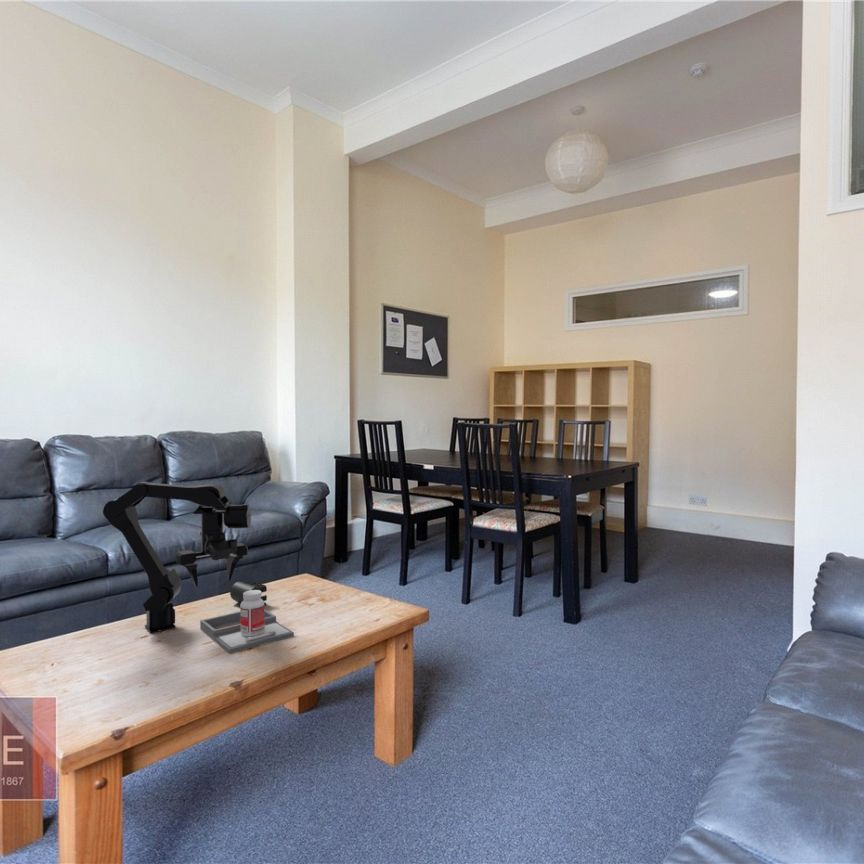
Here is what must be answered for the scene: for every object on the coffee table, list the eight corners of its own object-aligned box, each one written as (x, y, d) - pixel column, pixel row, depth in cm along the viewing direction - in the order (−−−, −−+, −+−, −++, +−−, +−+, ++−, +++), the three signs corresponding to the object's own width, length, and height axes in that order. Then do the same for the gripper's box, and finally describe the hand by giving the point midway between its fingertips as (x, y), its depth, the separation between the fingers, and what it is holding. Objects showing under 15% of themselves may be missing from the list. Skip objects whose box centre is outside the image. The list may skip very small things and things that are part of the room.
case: (213, 640, 150) (213, 628, 150) (200, 629, 158) (200, 617, 158) (276, 624, 161) (276, 613, 161) (260, 615, 169) (260, 604, 169)
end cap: (229, 604, 179) (229, 583, 179) (249, 599, 185) (249, 578, 185) (248, 611, 173) (247, 589, 173) (267, 605, 179) (267, 583, 179)
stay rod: (246, 642, 145) (246, 639, 145) (244, 641, 146) (244, 637, 146) (275, 635, 151) (275, 631, 151) (274, 634, 151) (274, 630, 151)
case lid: (229, 653, 142) (229, 648, 142) (213, 640, 150) (213, 636, 150) (293, 636, 153) (293, 631, 153) (276, 624, 161) (276, 620, 161)
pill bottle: (267, 628, 155) (266, 588, 155) (261, 637, 149) (261, 595, 149) (244, 629, 155) (243, 589, 155) (237, 637, 149) (237, 596, 149)
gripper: (187, 537, 148) (187, 597, 148) (255, 528, 160) (256, 583, 161) (174, 531, 157) (174, 587, 157) (240, 523, 169) (240, 575, 169)
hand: (212, 583), depth 161 cm, fingers open, 9 cm apart
